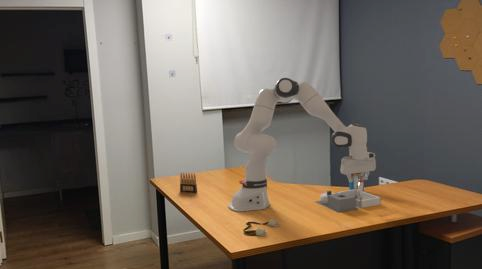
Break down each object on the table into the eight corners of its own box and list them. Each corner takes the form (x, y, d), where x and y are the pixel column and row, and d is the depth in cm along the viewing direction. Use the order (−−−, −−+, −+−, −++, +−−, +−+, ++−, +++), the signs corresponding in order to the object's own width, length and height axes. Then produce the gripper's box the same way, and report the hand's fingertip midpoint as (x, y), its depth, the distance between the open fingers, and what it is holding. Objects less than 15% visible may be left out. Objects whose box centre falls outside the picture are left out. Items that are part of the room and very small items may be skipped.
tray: (360, 210, 235) (360, 201, 234) (336, 201, 253) (336, 192, 252) (380, 207, 240) (380, 197, 239) (356, 197, 258) (356, 189, 257)
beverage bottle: (352, 188, 277) (352, 155, 274) (366, 190, 272) (366, 156, 269) (346, 192, 270) (346, 158, 267) (360, 193, 265) (360, 159, 262)
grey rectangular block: (338, 215, 228) (338, 200, 227) (314, 204, 248) (314, 190, 247) (358, 211, 233) (358, 197, 232) (333, 201, 253) (333, 187, 252)
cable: (233, 233, 210) (233, 226, 210) (249, 222, 225) (249, 215, 224) (265, 238, 203) (264, 230, 203) (279, 226, 217) (279, 219, 217)
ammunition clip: (180, 192, 284) (179, 172, 282) (181, 191, 285) (180, 172, 284) (196, 193, 280) (195, 173, 279) (197, 192, 282) (196, 172, 280)
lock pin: (358, 203, 244) (360, 179, 242) (355, 201, 246) (358, 178, 244) (362, 202, 244) (364, 179, 243) (359, 201, 247) (361, 178, 245)
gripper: (345, 157, 235) (345, 184, 237) (377, 153, 243) (377, 179, 245) (337, 156, 241) (337, 182, 243) (369, 152, 249) (369, 177, 251)
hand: (358, 180), depth 244 cm, fingers open, 8 cm apart
